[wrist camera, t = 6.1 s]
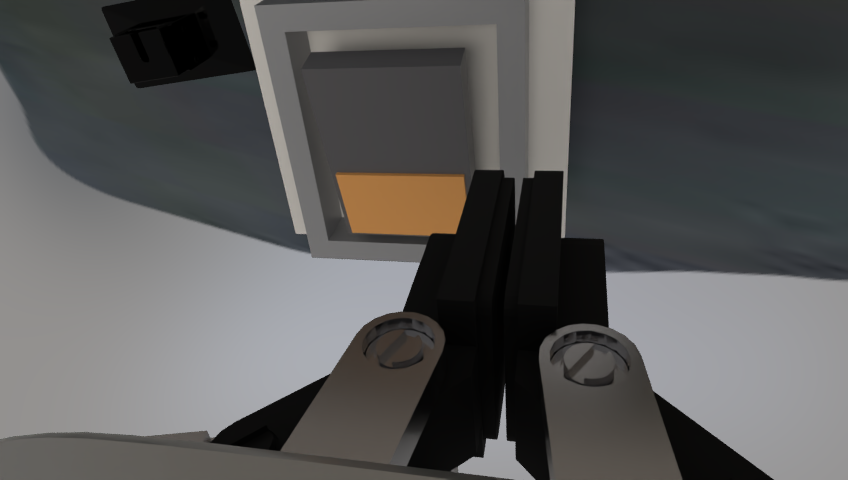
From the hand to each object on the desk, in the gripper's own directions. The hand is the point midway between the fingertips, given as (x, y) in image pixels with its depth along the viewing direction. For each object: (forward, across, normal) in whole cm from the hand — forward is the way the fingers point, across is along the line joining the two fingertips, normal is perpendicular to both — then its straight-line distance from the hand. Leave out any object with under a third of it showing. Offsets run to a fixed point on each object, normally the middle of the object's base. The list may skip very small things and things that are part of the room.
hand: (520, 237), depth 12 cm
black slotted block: (+28, +24, +3) cm, 37 cm away
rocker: (+17, +7, +6) cm, 19 cm away
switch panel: (+27, +7, +6) cm, 28 cm away
